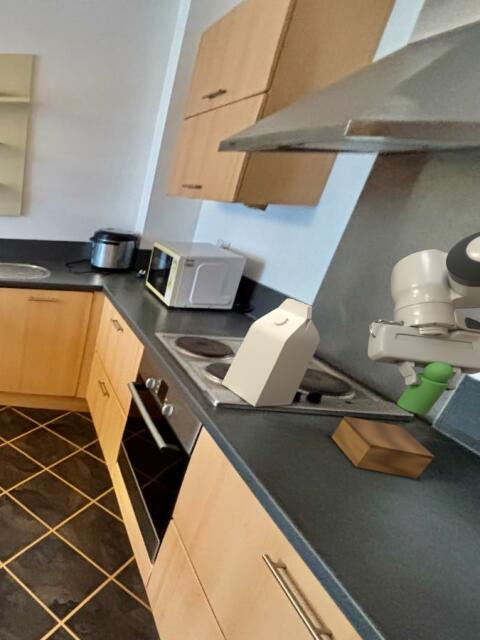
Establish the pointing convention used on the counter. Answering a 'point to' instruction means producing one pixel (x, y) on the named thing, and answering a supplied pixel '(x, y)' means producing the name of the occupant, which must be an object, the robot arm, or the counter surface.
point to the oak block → (381, 447)
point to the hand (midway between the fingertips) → (430, 387)
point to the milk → (274, 356)
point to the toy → (427, 388)
